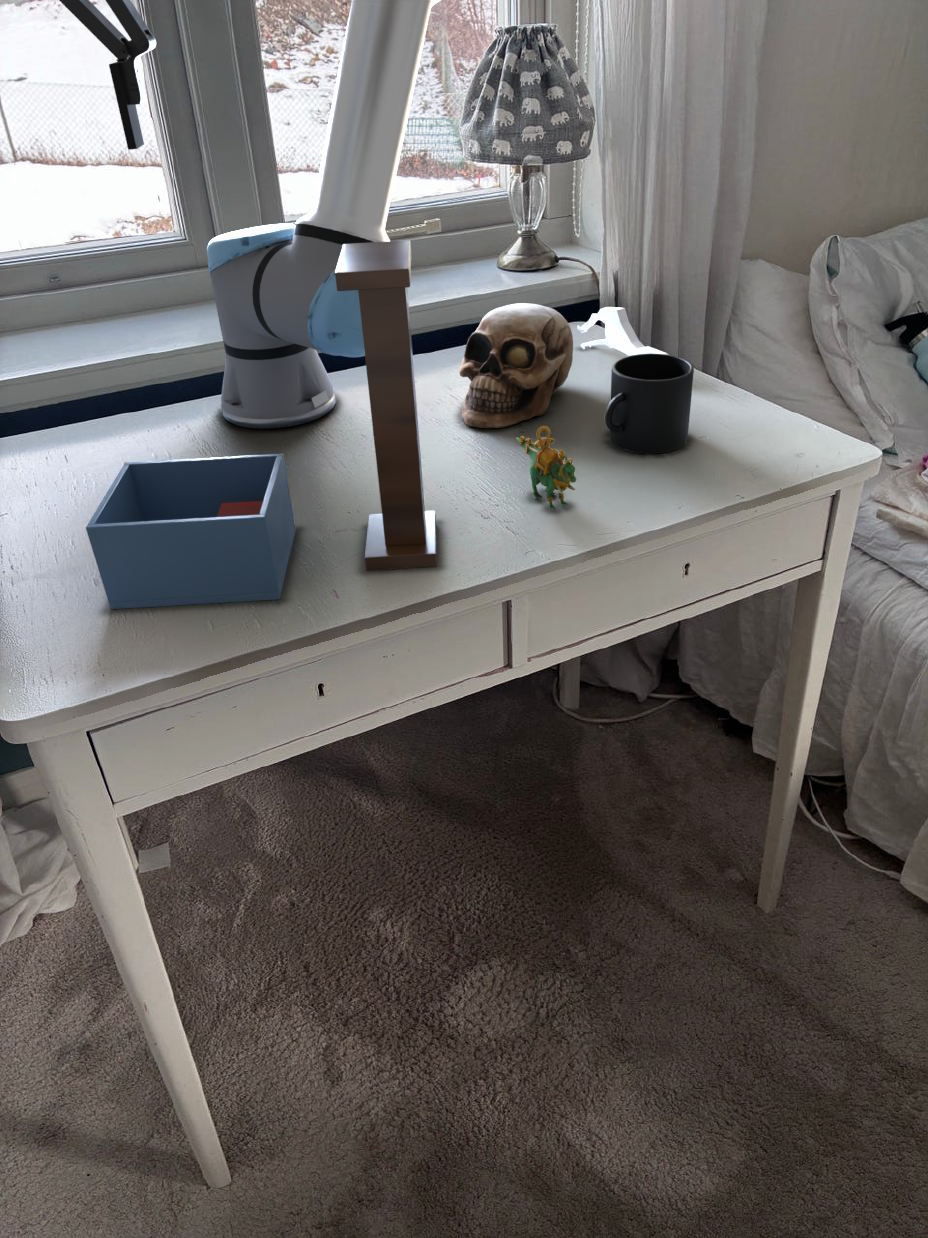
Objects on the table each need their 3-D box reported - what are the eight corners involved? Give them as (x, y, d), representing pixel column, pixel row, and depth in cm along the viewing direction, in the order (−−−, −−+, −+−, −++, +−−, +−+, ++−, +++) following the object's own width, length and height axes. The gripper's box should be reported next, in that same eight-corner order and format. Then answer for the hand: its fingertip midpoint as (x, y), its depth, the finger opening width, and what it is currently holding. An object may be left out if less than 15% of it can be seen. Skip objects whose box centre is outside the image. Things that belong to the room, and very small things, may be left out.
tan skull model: (464, 430, 120) (462, 320, 114) (454, 394, 136) (452, 296, 129) (587, 425, 121) (591, 316, 115) (563, 390, 137) (566, 293, 130)
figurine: (561, 522, 100) (562, 450, 95) (505, 479, 109) (504, 411, 104) (586, 515, 101) (588, 443, 96) (529, 473, 110) (528, 405, 105)
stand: (370, 524, 101) (337, 243, 85) (435, 520, 101) (415, 239, 85) (365, 573, 93) (328, 273, 77) (437, 569, 93) (414, 268, 77)
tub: (145, 538, 101) (125, 462, 96) (295, 529, 101) (283, 452, 96) (110, 609, 90) (85, 527, 85) (279, 599, 90) (264, 516, 85)
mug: (577, 443, 116) (578, 371, 111) (647, 417, 122) (651, 347, 117) (632, 468, 110) (637, 393, 104) (704, 439, 115) (711, 366, 110)
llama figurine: (589, 392, 146) (664, 378, 130) (573, 316, 143) (648, 293, 127) (599, 389, 147) (675, 375, 131) (583, 314, 144) (659, 291, 128)
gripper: (-211, -149, 70) (-99, 167, 82) (129, -171, 70) (191, 149, 82) (-159, -140, 76) (-62, 153, 88) (153, -160, 76) (207, 136, 88)
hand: (60, 152), depth 85 cm, fingers open, 13 cm apart
